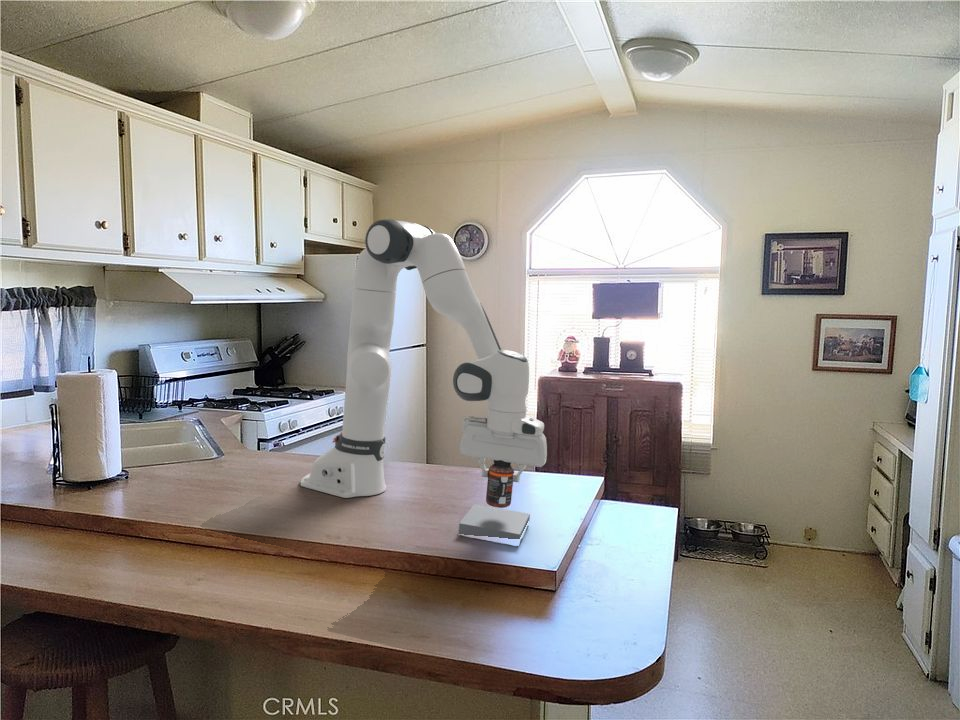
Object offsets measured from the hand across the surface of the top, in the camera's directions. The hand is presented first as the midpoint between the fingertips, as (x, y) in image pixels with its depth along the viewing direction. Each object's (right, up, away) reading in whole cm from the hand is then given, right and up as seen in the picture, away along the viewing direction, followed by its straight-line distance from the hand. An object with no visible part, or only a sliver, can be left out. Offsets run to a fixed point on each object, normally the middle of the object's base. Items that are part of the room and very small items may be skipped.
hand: (500, 479), depth 149 cm
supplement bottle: (-1, -6, +1) cm, 6 cm away
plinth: (-1, -12, +1) cm, 13 cm away
